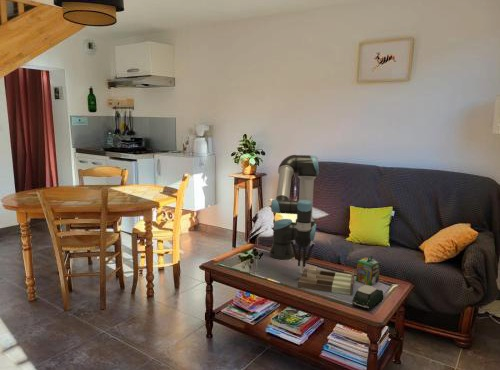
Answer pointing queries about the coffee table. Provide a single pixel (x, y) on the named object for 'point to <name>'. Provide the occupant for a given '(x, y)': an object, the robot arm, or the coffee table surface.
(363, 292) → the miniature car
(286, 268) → the coffee table surface
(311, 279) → the brown striped flat block
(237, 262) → the coffee table surface
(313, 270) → the birch block
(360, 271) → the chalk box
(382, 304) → the coffee table surface
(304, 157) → the robot arm
